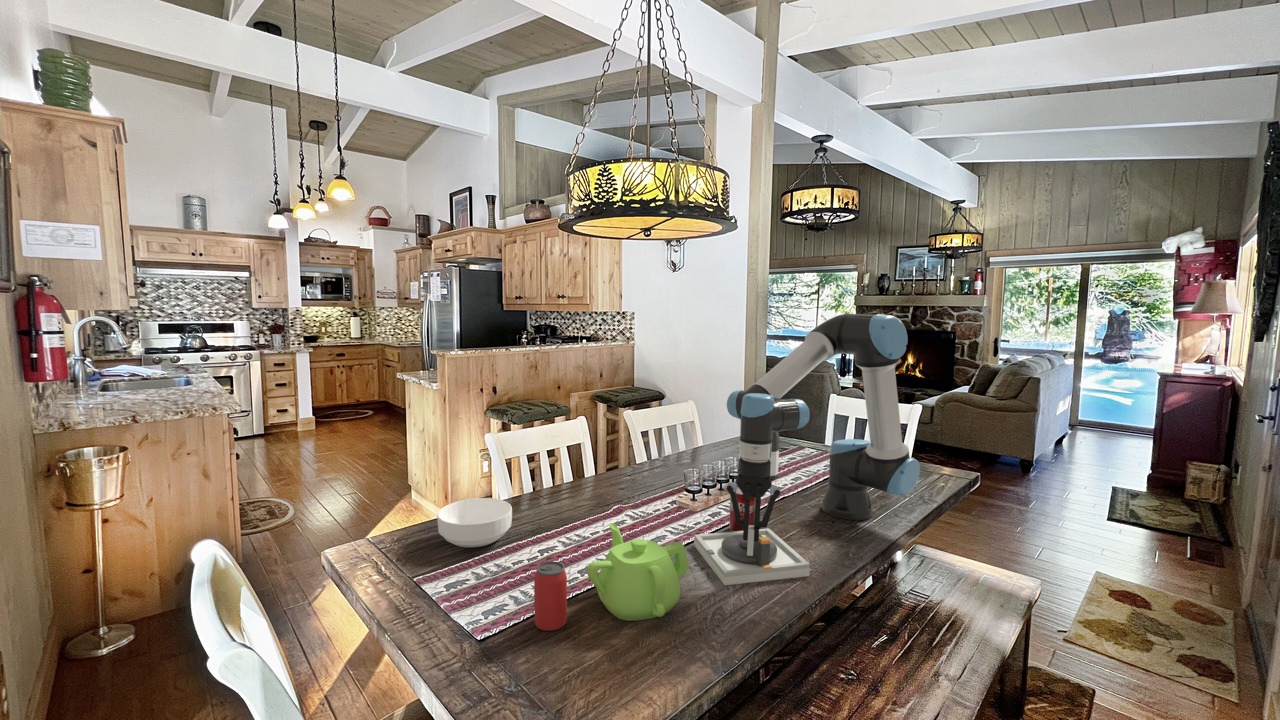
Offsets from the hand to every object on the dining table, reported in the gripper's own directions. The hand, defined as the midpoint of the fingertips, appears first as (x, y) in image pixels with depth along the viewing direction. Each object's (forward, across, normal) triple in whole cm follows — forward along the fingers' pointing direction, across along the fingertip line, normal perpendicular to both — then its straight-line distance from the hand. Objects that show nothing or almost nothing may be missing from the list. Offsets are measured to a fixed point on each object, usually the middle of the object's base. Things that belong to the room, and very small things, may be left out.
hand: (750, 553), depth 137 cm
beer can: (+7, -40, -31) cm, 50 cm away
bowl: (+7, -74, +3) cm, 74 cm away
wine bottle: (+5, +6, +80) cm, 81 cm away
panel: (+5, 0, +8) cm, 9 cm away
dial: (+3, 0, +8) cm, 8 cm away
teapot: (+6, -24, -18) cm, 31 cm away
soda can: (+5, -2, +27) cm, 27 cm away
